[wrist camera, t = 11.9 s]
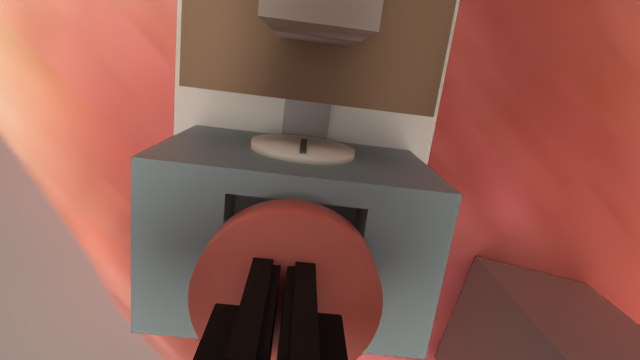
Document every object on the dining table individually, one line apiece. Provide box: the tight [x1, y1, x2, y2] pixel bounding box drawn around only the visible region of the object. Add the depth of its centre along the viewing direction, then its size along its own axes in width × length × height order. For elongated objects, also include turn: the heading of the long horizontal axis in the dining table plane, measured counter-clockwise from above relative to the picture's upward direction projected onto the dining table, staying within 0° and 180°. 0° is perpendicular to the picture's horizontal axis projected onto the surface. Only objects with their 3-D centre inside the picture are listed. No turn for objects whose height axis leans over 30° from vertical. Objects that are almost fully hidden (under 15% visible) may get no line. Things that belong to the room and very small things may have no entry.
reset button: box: [188, 199, 383, 360], centre depth 12 cm, size 5×5×3 cm
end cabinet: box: [131, 125, 462, 359], centre depth 16 cm, size 10×6×7 cm, turn 83°
